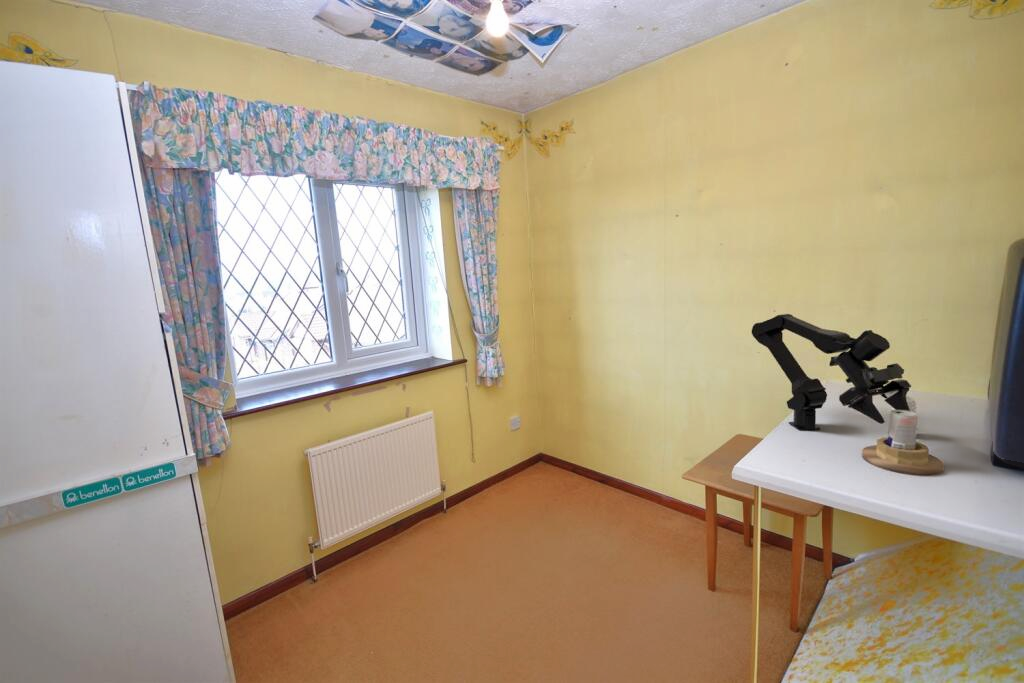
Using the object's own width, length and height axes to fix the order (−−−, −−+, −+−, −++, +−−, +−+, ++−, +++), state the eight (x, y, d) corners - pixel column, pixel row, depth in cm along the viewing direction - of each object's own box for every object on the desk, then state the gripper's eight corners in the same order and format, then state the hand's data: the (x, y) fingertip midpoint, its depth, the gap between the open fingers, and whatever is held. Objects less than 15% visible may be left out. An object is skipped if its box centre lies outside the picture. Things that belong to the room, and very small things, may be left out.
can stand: (847, 450, 124) (848, 434, 123) (908, 448, 122) (909, 431, 122) (892, 476, 108) (893, 458, 107) (962, 474, 107) (964, 456, 106)
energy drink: (899, 451, 118) (902, 408, 116) (920, 459, 113) (923, 414, 111) (881, 454, 117) (884, 410, 115) (901, 462, 112) (905, 417, 110)
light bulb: (887, 436, 131) (890, 397, 129) (889, 430, 135) (892, 392, 133) (913, 440, 127) (916, 400, 125) (914, 434, 131) (917, 395, 129)
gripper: (852, 358, 115) (894, 411, 106) (906, 350, 120) (951, 400, 111) (822, 380, 124) (859, 431, 115) (874, 372, 128) (913, 420, 120)
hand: (896, 420), depth 115 cm, fingers open, 9 cm apart
